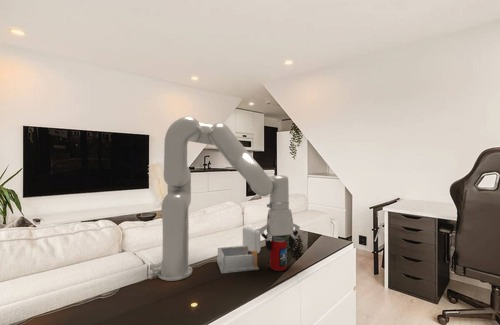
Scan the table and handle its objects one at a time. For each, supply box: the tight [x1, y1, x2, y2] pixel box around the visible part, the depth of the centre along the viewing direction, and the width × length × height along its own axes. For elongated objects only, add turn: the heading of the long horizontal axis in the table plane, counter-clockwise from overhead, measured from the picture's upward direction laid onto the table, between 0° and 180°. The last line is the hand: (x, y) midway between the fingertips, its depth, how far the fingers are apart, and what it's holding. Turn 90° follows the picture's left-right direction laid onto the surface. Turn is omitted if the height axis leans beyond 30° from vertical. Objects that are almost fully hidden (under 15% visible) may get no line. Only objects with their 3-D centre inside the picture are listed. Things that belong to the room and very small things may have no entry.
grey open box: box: [216, 245, 260, 274], centre depth 107 cm, size 15×14×7 cm
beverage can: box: [269, 237, 288, 272], centre depth 104 cm, size 7×7×12 cm
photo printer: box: [242, 224, 261, 254], centre depth 125 cm, size 10×4×12 cm, turn 39°
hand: (279, 248), depth 104 cm, fingers open, 9 cm apart
